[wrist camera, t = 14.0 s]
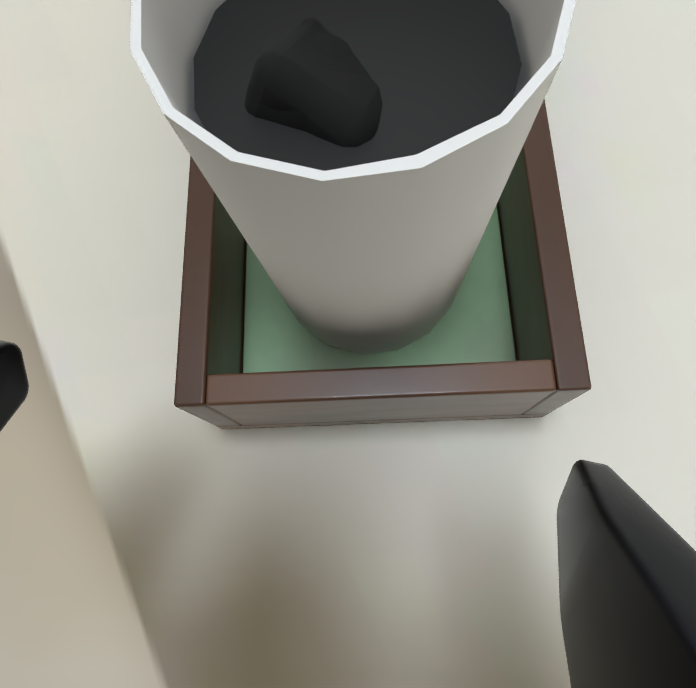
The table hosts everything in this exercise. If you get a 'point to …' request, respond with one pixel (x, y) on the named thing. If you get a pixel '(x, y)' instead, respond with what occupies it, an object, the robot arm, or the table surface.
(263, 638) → the table surface
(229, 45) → the white cup
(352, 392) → the tray
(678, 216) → the table surface
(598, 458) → the table surface
